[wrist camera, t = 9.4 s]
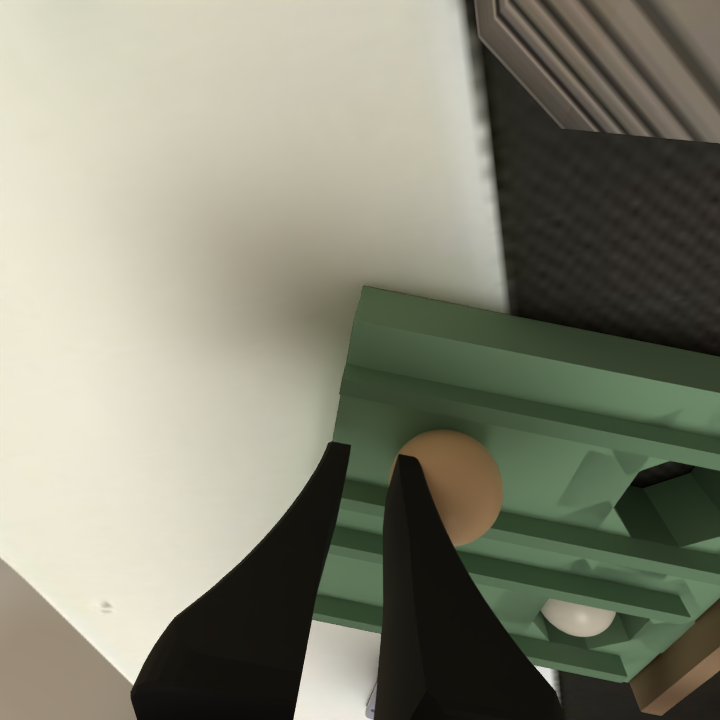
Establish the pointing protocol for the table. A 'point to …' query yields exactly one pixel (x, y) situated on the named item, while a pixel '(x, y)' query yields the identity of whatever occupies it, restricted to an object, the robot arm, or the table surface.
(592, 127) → the can
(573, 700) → the table surface
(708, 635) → the backstop
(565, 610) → the ball white
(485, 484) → the ball orange
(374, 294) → the green egg tray
